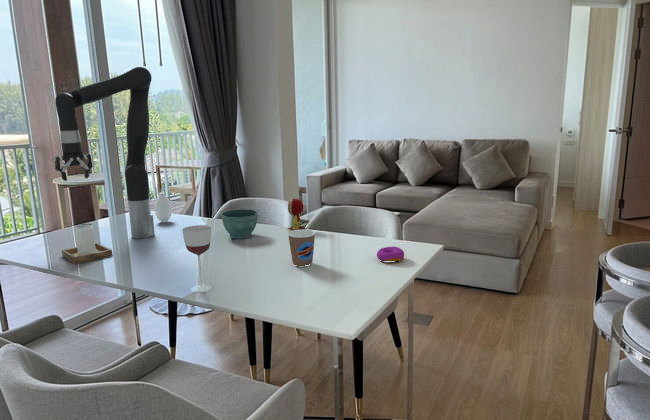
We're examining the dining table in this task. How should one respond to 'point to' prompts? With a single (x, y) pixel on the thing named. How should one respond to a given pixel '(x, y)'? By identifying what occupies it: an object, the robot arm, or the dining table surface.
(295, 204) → the figurine
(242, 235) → the teal green bowl
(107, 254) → the tray
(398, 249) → the donut
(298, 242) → the coffee cup
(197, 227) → the wineglass
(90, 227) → the can
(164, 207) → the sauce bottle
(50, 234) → the dining table surface
